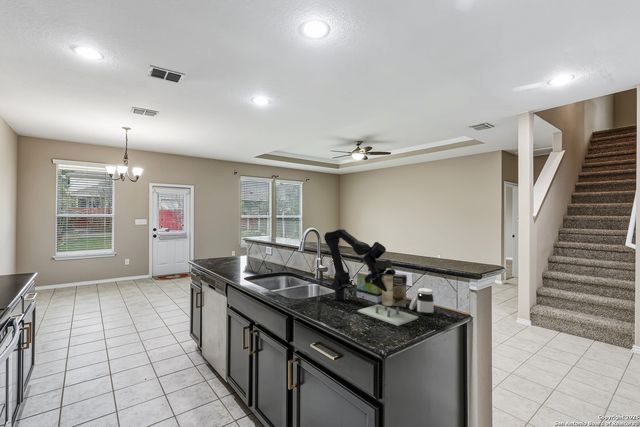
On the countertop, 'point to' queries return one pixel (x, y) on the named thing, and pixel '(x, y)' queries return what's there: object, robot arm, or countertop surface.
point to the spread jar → (423, 302)
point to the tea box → (368, 289)
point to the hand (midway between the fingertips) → (389, 290)
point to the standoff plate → (388, 314)
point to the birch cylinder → (388, 295)
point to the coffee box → (399, 290)
